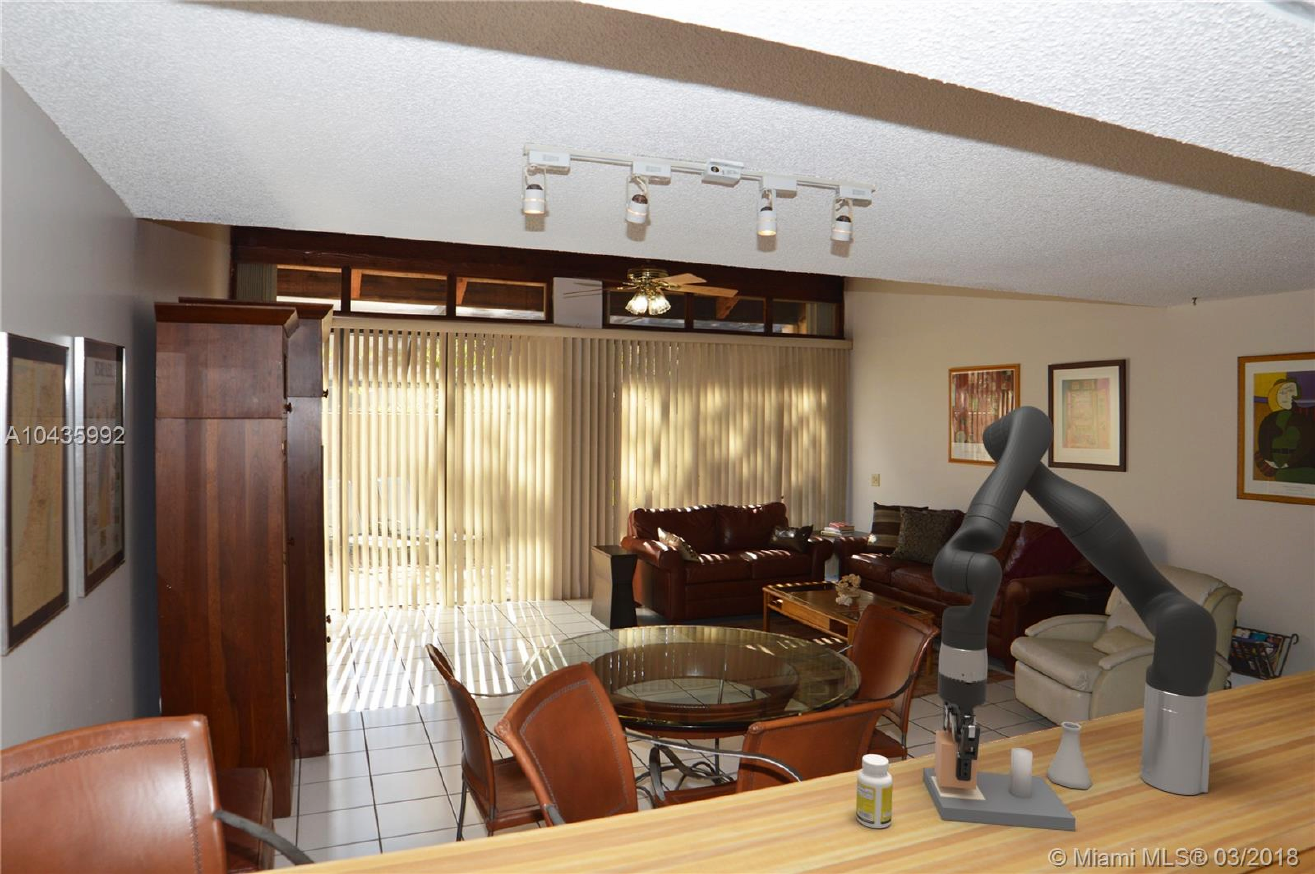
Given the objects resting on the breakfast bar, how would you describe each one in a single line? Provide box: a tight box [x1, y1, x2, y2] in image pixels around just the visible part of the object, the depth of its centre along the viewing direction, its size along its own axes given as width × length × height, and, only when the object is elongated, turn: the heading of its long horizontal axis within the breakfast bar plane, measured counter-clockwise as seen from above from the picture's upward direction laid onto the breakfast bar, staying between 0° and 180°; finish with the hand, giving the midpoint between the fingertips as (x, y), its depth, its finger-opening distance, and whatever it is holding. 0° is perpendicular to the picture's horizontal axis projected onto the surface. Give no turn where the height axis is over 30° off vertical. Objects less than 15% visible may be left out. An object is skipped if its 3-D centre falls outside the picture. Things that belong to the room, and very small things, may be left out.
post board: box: [922, 747, 1076, 832], centre depth 132 cm, size 20×14×9 cm
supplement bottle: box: [855, 753, 893, 829], centre depth 125 cm, size 5×5×10 cm
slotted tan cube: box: [934, 729, 979, 790], centre depth 132 cm, size 6×6×7 cm
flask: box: [1046, 721, 1093, 790], centre depth 141 cm, size 7×7×10 cm
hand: (958, 770), depth 132 cm, fingers closed on slotted tan cube, 5 cm apart
